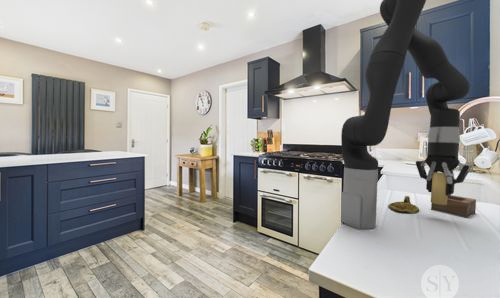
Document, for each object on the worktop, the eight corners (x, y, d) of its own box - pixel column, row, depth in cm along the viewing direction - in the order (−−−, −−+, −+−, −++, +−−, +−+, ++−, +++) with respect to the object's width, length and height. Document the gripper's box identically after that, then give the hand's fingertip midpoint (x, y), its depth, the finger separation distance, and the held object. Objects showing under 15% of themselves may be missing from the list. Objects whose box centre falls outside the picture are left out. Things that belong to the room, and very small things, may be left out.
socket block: (466, 217, 71) (467, 203, 71) (431, 209, 79) (431, 196, 79) (475, 213, 76) (476, 199, 76) (441, 205, 84) (441, 193, 84)
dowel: (444, 205, 66) (446, 174, 66) (428, 202, 70) (430, 172, 69) (448, 204, 68) (451, 173, 68) (433, 200, 72) (435, 171, 71)
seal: (414, 220, 72) (421, 210, 82) (417, 207, 71) (423, 198, 81) (383, 210, 78) (393, 202, 89) (385, 198, 77) (395, 191, 88)
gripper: (412, 140, 72) (408, 189, 73) (470, 141, 60) (465, 200, 61) (421, 141, 76) (418, 188, 77) (478, 142, 64) (473, 197, 65)
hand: (439, 193), depth 69 cm, fingers closed on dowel, 4 cm apart
